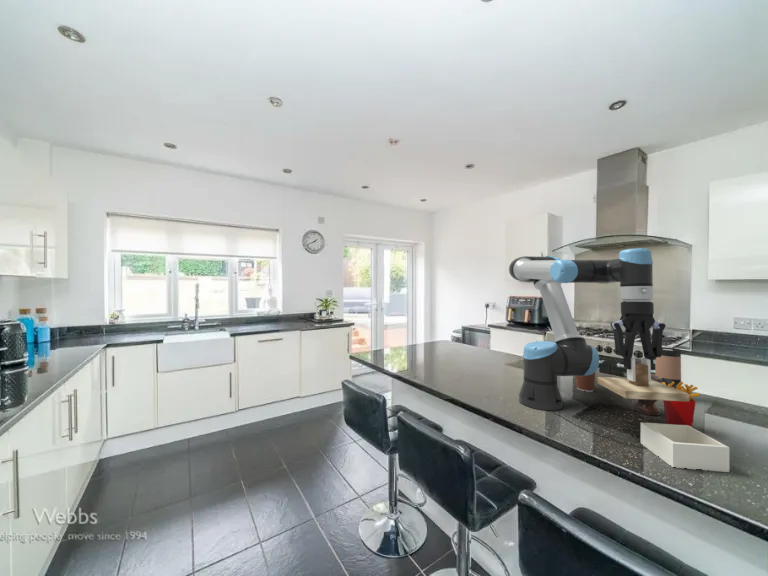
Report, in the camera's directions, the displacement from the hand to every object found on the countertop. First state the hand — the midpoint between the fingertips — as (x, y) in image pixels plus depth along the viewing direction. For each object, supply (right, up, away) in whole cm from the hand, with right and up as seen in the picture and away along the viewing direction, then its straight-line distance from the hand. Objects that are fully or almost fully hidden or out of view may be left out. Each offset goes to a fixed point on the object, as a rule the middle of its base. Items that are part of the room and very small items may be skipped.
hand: (638, 380), depth 89 cm
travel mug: (+40, -18, +34) cm, 55 cm away
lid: (0, -3, 0) cm, 3 cm away
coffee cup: (+13, -18, +44) cm, 49 cm away
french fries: (+19, -18, +7) cm, 27 cm away
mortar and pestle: (+18, -18, +19) cm, 32 cm away
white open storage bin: (+4, -17, -9) cm, 20 cm away
